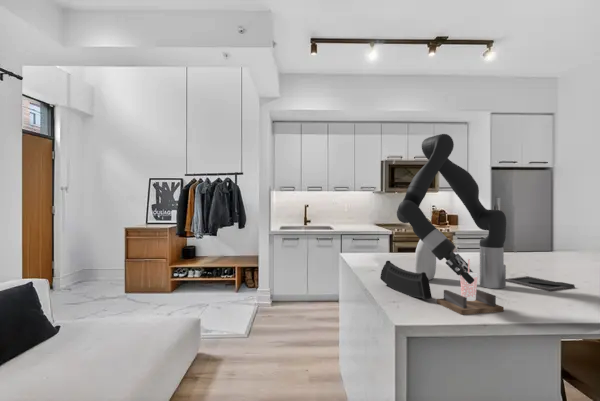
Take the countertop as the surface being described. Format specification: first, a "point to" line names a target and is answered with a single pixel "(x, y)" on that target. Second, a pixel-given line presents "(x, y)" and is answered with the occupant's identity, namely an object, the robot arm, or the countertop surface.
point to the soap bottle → (425, 260)
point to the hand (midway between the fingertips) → (473, 280)
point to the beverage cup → (469, 286)
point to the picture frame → (540, 283)
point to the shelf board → (470, 303)
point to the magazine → (406, 281)
